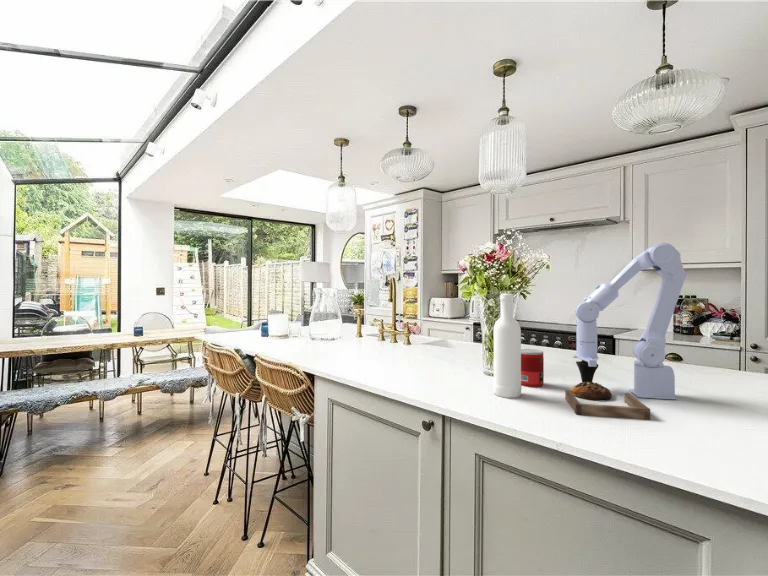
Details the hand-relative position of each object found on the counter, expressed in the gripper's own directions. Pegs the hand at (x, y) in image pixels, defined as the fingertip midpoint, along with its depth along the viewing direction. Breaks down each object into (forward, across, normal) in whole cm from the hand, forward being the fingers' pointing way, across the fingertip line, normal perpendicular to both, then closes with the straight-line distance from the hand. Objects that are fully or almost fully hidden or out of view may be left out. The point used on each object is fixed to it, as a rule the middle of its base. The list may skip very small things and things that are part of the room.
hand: (586, 385), depth 122 cm
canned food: (+2, -4, -16) cm, 16 cm away
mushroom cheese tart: (+2, +6, 0) cm, 6 cm away
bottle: (+2, +10, -24) cm, 26 cm away
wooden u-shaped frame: (+1, +18, 0) cm, 18 cm away
